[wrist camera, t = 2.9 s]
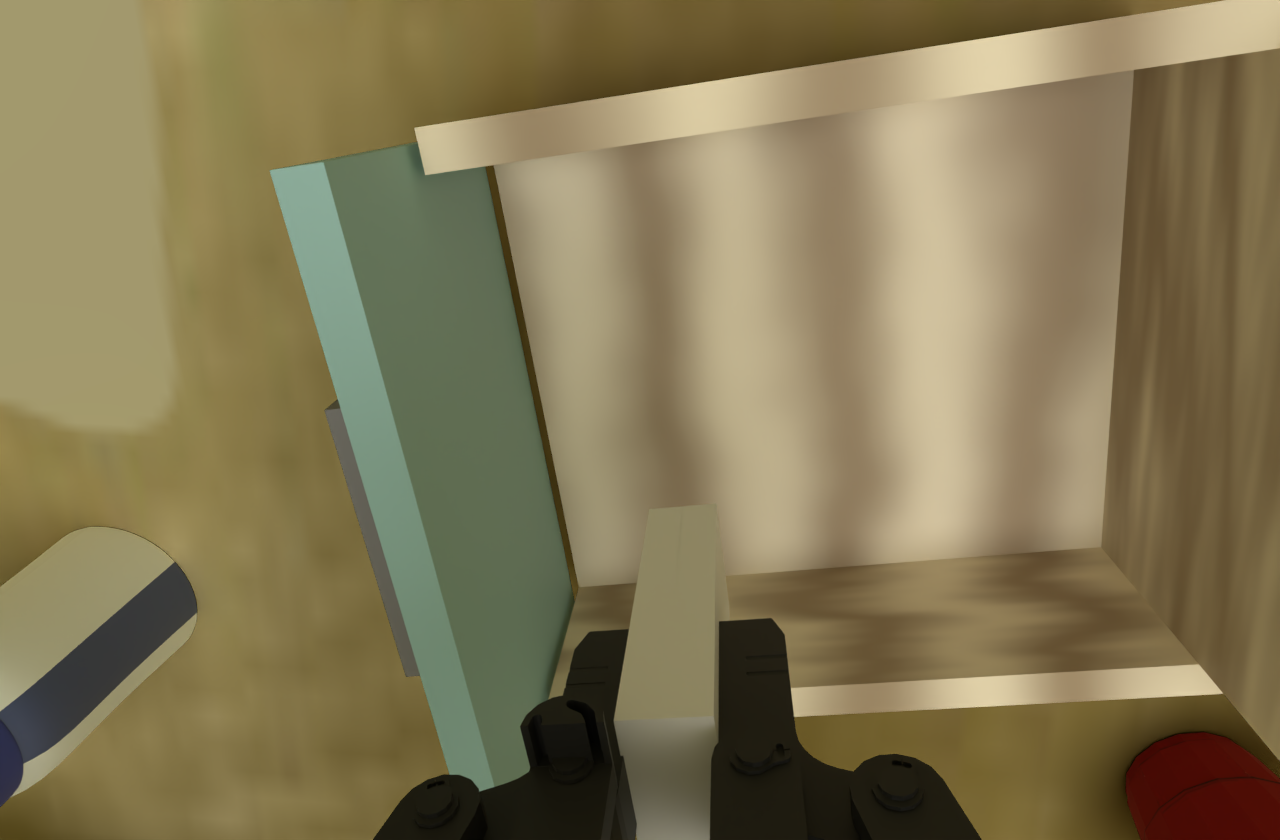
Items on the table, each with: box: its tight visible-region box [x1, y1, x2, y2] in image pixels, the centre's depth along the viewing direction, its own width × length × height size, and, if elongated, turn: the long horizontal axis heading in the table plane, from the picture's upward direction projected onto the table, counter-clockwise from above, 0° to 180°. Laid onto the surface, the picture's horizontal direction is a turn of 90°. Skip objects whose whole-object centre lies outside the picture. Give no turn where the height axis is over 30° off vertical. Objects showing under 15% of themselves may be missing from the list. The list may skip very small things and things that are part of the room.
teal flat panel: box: [270, 142, 575, 791], centre depth 26 cm, size 2×19×12 cm, turn 8°
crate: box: [414, 0, 1280, 761], centre depth 25 cm, size 22×20×17 cm
